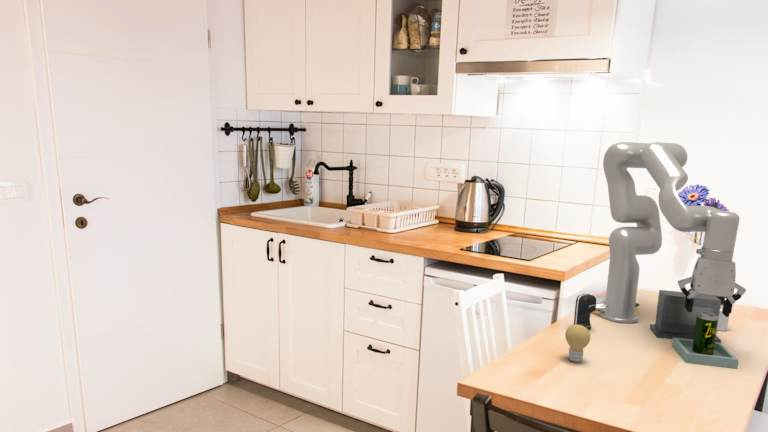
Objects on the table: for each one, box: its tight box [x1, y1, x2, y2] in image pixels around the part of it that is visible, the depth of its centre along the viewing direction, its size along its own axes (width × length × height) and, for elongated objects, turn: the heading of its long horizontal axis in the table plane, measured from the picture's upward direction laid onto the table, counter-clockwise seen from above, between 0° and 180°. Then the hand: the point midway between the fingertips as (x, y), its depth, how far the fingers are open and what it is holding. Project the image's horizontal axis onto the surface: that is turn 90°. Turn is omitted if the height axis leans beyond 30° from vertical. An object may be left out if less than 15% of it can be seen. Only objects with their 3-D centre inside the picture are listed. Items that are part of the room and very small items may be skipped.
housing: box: [649, 289, 722, 344], centre depth 175 cm, size 18×9×14 cm, turn 78°
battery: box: [573, 293, 597, 330], centre depth 176 cm, size 7×4×11 cm, turn 129°
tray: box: [671, 338, 739, 369], centre depth 159 cm, size 13×13×3 cm
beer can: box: [692, 311, 718, 355], centre depth 159 cm, size 5×5×12 cm
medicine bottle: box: [716, 296, 730, 332], centre depth 185 cm, size 7×7×12 cm
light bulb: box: [565, 324, 591, 363], centre depth 151 cm, size 6×6×10 cm
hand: (706, 313), depth 158 cm, fingers open, 9 cm apart
